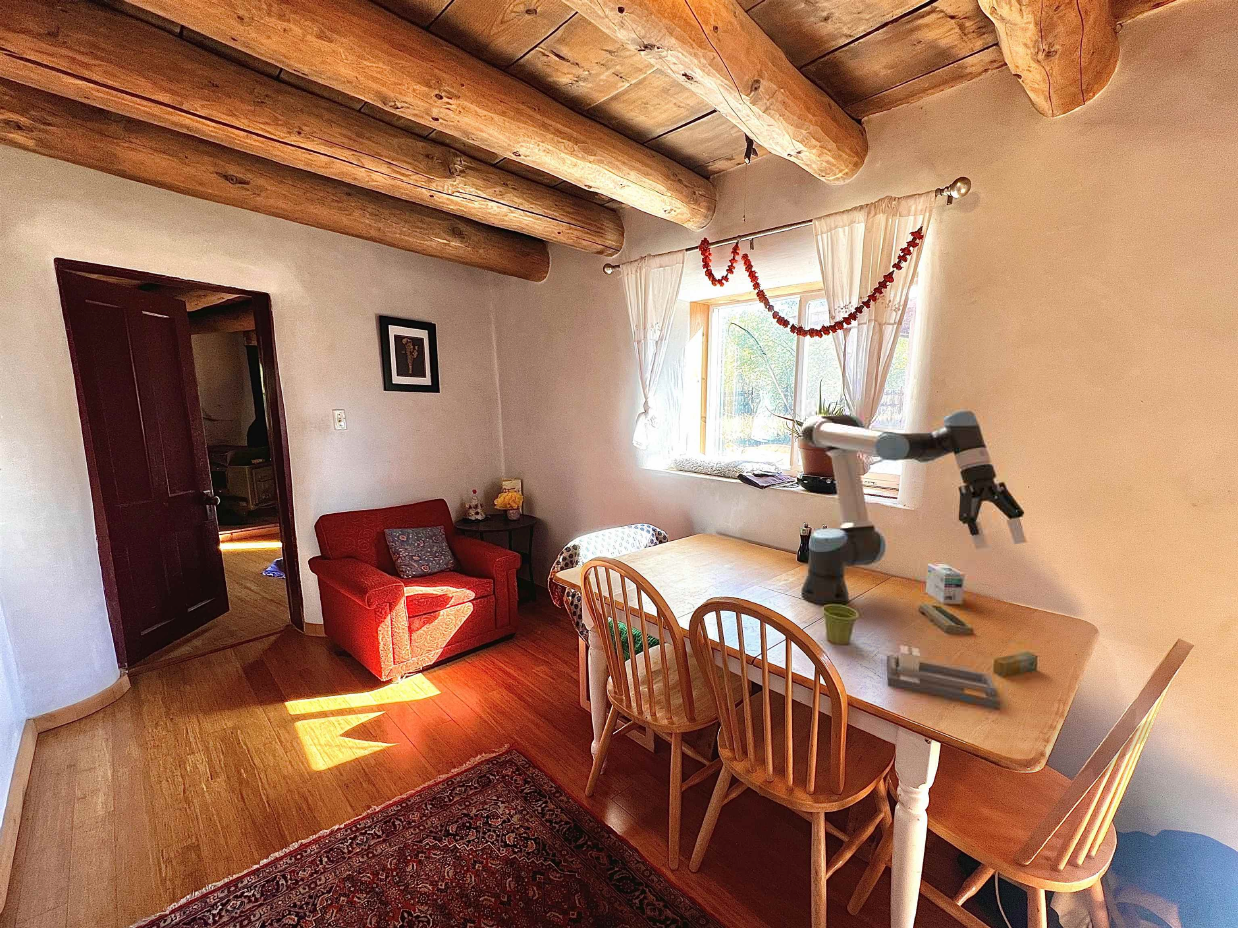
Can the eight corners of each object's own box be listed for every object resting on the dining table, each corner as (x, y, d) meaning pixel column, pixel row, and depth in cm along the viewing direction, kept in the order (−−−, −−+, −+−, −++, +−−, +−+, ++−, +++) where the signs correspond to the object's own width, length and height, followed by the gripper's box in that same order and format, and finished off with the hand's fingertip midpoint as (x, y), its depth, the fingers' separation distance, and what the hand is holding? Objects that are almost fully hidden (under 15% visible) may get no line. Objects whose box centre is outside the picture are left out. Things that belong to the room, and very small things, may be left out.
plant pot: (854, 635, 149) (856, 606, 148) (858, 650, 140) (860, 620, 139) (820, 630, 152) (821, 602, 151) (821, 644, 143) (823, 615, 142)
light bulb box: (962, 604, 172) (965, 573, 171) (942, 604, 172) (945, 573, 171) (943, 592, 183) (946, 563, 181) (924, 592, 183) (927, 563, 182)
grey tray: (887, 685, 123) (888, 671, 123) (886, 662, 134) (887, 649, 134) (999, 709, 114) (1001, 695, 113) (988, 683, 125) (989, 669, 124)
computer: (974, 635, 151) (975, 624, 150) (945, 634, 151) (946, 623, 151) (943, 613, 166) (944, 603, 166) (918, 612, 167) (918, 602, 166)
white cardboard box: (899, 671, 125) (901, 651, 125) (898, 663, 129) (900, 644, 129) (918, 674, 124) (920, 655, 123) (916, 666, 127) (918, 647, 127)
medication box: (1026, 665, 133) (1027, 651, 133) (1037, 670, 131) (1038, 655, 130) (992, 673, 130) (993, 658, 129) (1003, 678, 127) (1004, 663, 127)
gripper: (952, 464, 131) (979, 547, 125) (1022, 461, 139) (1050, 538, 133) (928, 473, 138) (952, 551, 132) (996, 469, 146) (1022, 543, 140)
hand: (1001, 545), depth 132 cm, fingers open, 13 cm apart
